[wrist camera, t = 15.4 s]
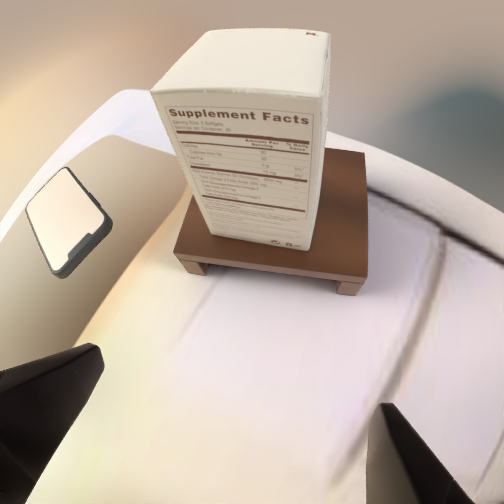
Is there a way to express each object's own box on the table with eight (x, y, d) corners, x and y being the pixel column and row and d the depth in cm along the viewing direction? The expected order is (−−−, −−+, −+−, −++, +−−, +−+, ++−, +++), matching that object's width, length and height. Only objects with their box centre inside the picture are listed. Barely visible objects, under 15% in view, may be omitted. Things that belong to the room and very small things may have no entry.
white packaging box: (236, 164, 25) (207, 28, 13) (323, 176, 23) (335, 30, 12) (208, 237, 22) (143, 90, 10) (309, 256, 20) (327, 93, 9)
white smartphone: (29, 213, 32) (63, 286, 26) (22, 207, 30) (53, 280, 24) (71, 170, 34) (119, 226, 28) (66, 162, 33) (112, 218, 27)
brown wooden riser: (355, 296, 22) (367, 277, 19) (188, 273, 25) (172, 252, 21) (357, 180, 27) (364, 152, 24) (221, 167, 30) (214, 140, 26)
